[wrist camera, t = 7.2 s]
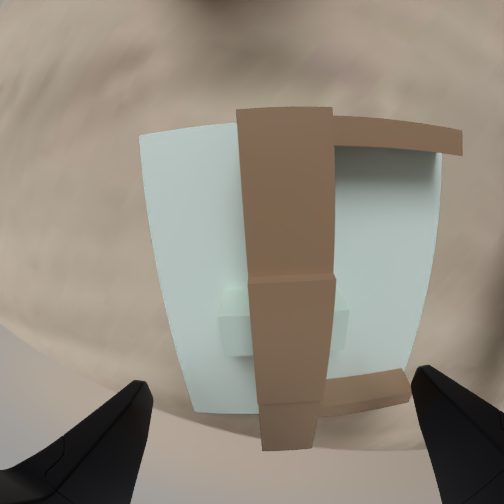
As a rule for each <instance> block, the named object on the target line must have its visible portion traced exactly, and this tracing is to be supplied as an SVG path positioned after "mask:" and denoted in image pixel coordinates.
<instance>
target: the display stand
mask: <svg viewBox="0 0 504 504" xmlns="http://www.w3.org/2000/svg"><path fill="white" fill-rule="evenodd" d="M139 143H140V154H141V164H142V174H143V182H144V191H145V198H146V206H147V213H148V219H149V226H150V232H151V238H152V244H153V249H154V255H155V260H156V266H157V271H158V276H159V281H160V285H161V290H162V295H163V299H164V304H165V308H166V312H167V316H168V321H169V325H170V329H171V333H172V336H173V340H174V344H175V348H176V352H177V355H178V359H179V362H180V366H181V369H182V373H183V376H184V379H185V383H186V386H187V389H188V392H189V396H190V399H191V402H192V405H193V408H194V411H195V412H201V413H222V414H259V406H258V404H257V393H256V382H255V370H254V358H253V346H252V334H251V322H250V310H249V297H248V285H247V283H248V269H247V256H246V242H245V229H244V215H243V202H242V188H241V174H240V160H239V146H238V131H237V123H226V124H215V125H206V126H198V127H190V128H183V129H176V130H169V131H163V132H157V133H151V134H146V135H141V136H139ZM334 151H335V246H334V270H333V273H334V275H335V277H336V294H335V306H334V317H333V328H332V337H331V346H330V354H329V362H328V370H327V377H326V379H332V378H340V377H349V376H356V375H363V374H370V373H376V372H382V371H388V370H393V369H398V368H402V369H403V371H405V368H406V365H407V362H408V359H409V356H410V353H411V350H412V347H413V343H414V340H415V337H416V333H417V329H418V326H419V322H420V318H421V314H422V310H423V306H424V302H425V298H426V293H427V288H428V284H429V279H430V273H431V268H432V262H433V256H434V250H435V243H436V235H437V227H438V218H439V207H440V193H441V169H442V153H436V152H428V151H418V150H408V149H396V148H381V147H361V146H334Z"/></svg>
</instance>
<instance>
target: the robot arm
mask: <svg viewBox="0 0 504 504" xmlns="http://www.w3.org/2000/svg"><path fill="white" fill-rule="evenodd" d="M411 391H412V395H413V399H414V403H415V408H416V412H417V417H418V421H419V425H420V428H421V431H422V434H423V437H424V440H425V443H426V447H427V450H428V453H429V456H430V459H431V463H432V466H433V470H434V473H435V477H436V481H437V484H438V488H439V492H440V496H441V500H442V504H504V413H503V412H502V411H499V409H497V408H495V407H494V406H492V405H491V404H489V403H488V402H486V401H485V400H483V399H482V398H480V397H478V396H477V395H475V394H474V393H472V392H471V391H469V390H468V389H466V388H464V387H463V386H461V385H460V384H458V383H457V382H455V381H454V380H452V379H451V378H449V377H447V376H446V375H444V374H443V373H441V372H440V371H438V370H437V369H435V368H433V367H432V366H430V365H423V366H419V367H418V368H417V370H416V372H415V375H414V377H413V380H412V383H411ZM152 407H153V396H152V394H151V392H150V389H149V387H148V384H147V383H146V382H145V381H140V380H134V381H132V382H131V383H130V384H128V385H127V386H126V387H125V388H123V389H122V390H121V391H120V392H118V393H117V394H116V395H115V396H113V397H112V398H111V399H110V400H108V401H107V402H106V403H104V404H103V405H102V406H101V407H99V408H98V409H97V410H95V411H94V412H93V413H92V414H91V415H89V416H88V417H87V418H85V419H84V420H82V421H81V422H80V423H79V424H77V425H76V426H75V427H74V428H72V429H71V430H70V431H68V432H67V433H65V434H64V436H62V437H60V438H59V439H58V440H56V441H55V442H53V443H52V444H50V445H49V446H48V447H46V448H45V449H43V450H42V451H40V452H38V453H37V454H35V455H33V456H32V457H30V458H28V459H26V460H24V461H23V462H21V463H19V464H17V465H16V466H14V467H12V468H9V469H5V470H0V504H130V502H131V498H132V494H133V490H134V486H135V483H136V479H137V475H138V471H139V468H140V464H141V460H142V457H143V453H144V450H145V446H146V442H147V438H148V431H149V425H150V419H151V413H152Z"/></svg>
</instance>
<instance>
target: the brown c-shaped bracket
mask: <svg viewBox="0 0 504 504" xmlns="http://www.w3.org/2000/svg"><path fill="white" fill-rule="evenodd" d="M236 117H237V131H238V146H239V160H240V174H241V188H242V202H243V215H244V229H245V242H246V256H247V269H248V283H247V285H248V297H249V310H250V322H251V334H252V346H253V358H254V370H255V382H256V393H257V404H258V406H259V418H260V430H261V441H262V451H281V450H298V449H309V448H312V445H313V440H314V435H315V429H316V424H317V418H318V417H328V416H336V415H343V414H350V413H356V412H363V411H368V410H374V409H379V408H384V407H389V406H393V405H398V404H402V403H406V402H409V399H410V397H411V395H412V391H411V385H410V383H409V381H408V379H407V377H406V375H405V373H404V371H403V369H402V368H398V369H393V370H388V371H382V372H376V373H370V374H363V375H356V376H349V377H340V378H332V379H326V377H327V370H328V362H329V354H330V346H331V337H332V328H333V317H334V306H335V294H336V277H335V275H334V273H333V270H334V246H335V151H334V146H361V147H381V148H396V149H408V150H418V151H428V152H436V153H445V154H452V155H460V156H463V150H462V131H461V130H456V129H451V128H446V127H440V126H434V125H428V124H422V123H415V122H407V121H399V120H390V119H380V118H368V117H352V116H333V112H332V107H269V108H251V109H237V110H236Z"/></svg>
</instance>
